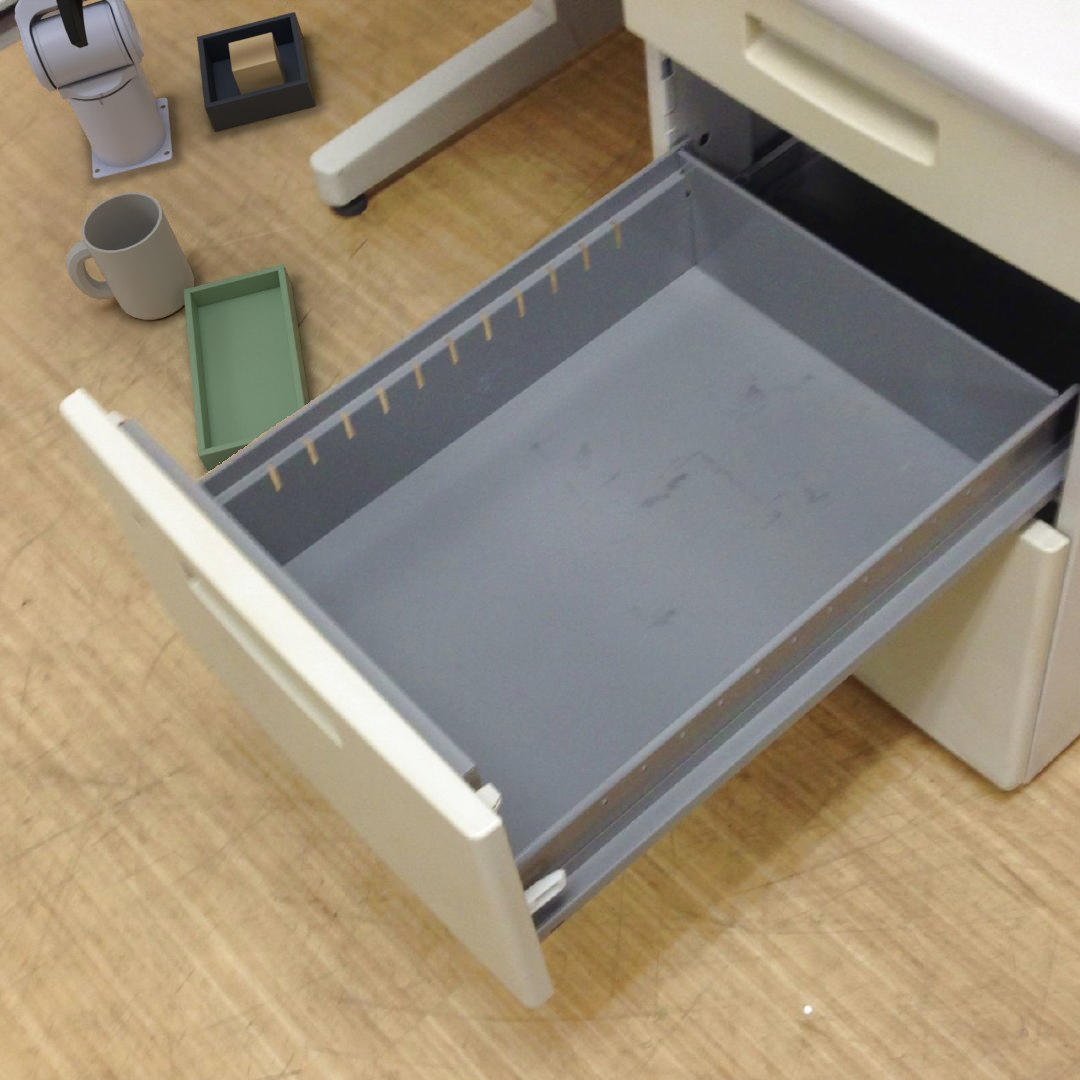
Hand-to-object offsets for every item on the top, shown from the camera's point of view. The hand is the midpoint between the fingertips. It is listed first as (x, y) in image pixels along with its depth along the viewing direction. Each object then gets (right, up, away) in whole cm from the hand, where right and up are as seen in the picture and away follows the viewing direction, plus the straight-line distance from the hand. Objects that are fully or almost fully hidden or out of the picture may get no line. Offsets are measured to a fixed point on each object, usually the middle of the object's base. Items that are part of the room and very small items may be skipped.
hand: (30, 62), depth 109 cm
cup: (+1, -12, +29) cm, 32 cm away
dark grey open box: (+9, +11, +43) cm, 45 cm away
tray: (+12, -20, +22) cm, 32 cm away
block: (+9, +11, +42) cm, 44 cm away
